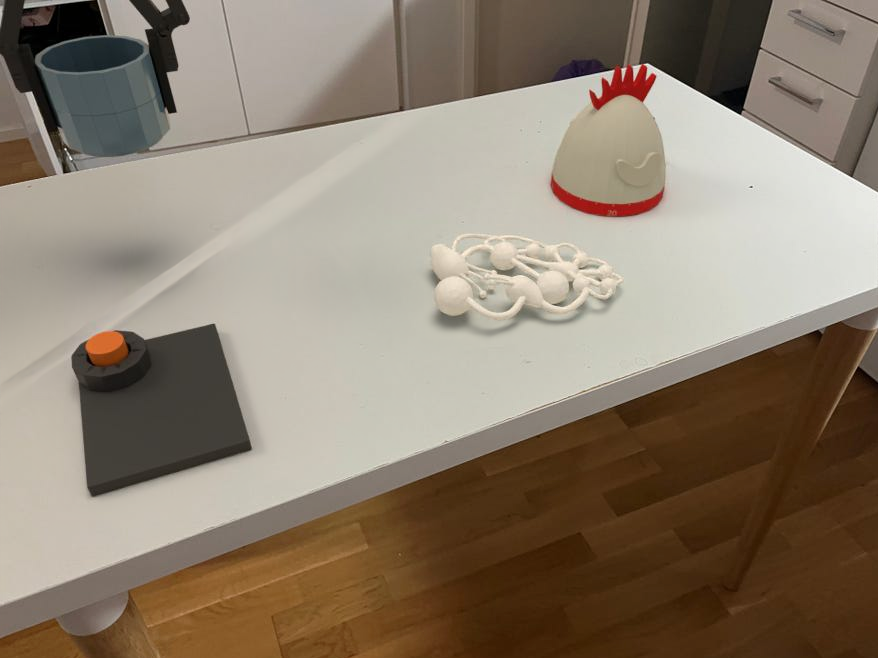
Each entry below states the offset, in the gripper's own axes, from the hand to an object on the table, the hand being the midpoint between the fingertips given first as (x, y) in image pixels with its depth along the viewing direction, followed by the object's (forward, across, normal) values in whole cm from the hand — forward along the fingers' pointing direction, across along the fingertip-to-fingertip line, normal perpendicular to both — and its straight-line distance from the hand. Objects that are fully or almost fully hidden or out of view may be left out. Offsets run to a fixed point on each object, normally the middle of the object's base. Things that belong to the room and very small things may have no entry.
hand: (112, 116), depth 67 cm
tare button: (+14, -6, -15) cm, 22 cm away
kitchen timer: (+17, +52, -3) cm, 55 cm away
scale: (+17, -3, -20) cm, 26 cm away
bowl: (+2, 0, 0) cm, 2 cm away
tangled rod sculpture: (+17, +33, -16) cm, 41 cm away
